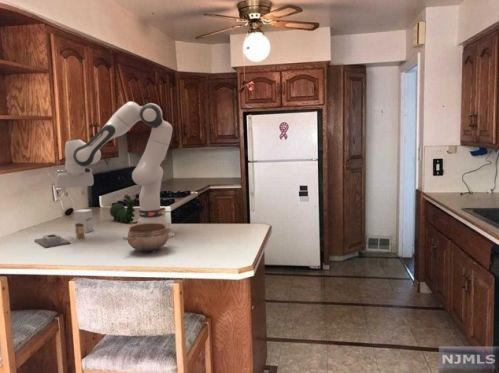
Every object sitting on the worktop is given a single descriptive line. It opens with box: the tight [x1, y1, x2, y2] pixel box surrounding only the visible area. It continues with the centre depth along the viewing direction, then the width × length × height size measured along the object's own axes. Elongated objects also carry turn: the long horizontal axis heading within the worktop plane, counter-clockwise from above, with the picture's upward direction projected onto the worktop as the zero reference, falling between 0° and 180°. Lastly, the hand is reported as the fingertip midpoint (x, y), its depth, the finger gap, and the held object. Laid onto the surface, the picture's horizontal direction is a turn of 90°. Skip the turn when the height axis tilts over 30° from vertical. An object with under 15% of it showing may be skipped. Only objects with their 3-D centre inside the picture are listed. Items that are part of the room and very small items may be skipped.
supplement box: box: [73, 208, 94, 234], centre depth 249 cm, size 7×7×13 cm
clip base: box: [34, 233, 71, 249], centre depth 225 cm, size 20×12×4 cm, turn 41°
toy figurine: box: [109, 194, 136, 224], centre depth 276 cm, size 10×19×26 cm
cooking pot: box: [122, 222, 172, 254], centre depth 202 cm, size 25×19×12 cm
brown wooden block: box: [74, 223, 85, 241], centre depth 232 cm, size 5×2×8 cm, turn 41°
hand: (74, 195), depth 231 cm, fingers open, 8 cm apart
